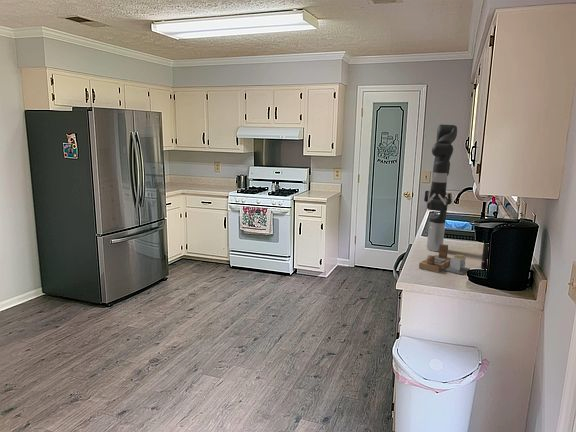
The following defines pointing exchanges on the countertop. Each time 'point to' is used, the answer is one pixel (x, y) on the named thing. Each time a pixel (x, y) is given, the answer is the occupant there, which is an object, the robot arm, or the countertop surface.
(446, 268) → the rubber mat
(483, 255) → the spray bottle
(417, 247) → the countertop surface
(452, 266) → the grey labelled box
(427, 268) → the plane body
